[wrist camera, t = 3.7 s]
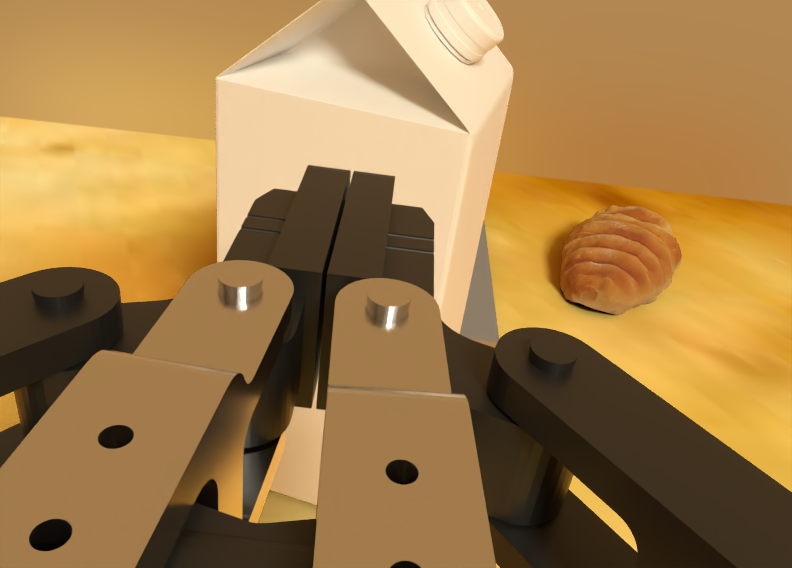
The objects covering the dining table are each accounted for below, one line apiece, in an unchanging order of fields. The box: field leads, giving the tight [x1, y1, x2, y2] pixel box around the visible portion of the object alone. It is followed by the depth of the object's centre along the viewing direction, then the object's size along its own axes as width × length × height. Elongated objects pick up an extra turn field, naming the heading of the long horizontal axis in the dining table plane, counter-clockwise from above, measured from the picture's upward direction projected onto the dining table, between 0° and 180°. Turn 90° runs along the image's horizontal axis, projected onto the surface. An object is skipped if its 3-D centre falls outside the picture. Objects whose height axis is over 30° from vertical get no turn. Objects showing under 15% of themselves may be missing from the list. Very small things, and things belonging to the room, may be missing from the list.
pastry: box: [560, 205, 682, 315], centre depth 42 cm, size 9×7×4 cm
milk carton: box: [215, 0, 513, 505], centre depth 24 cm, size 7×7×19 cm
